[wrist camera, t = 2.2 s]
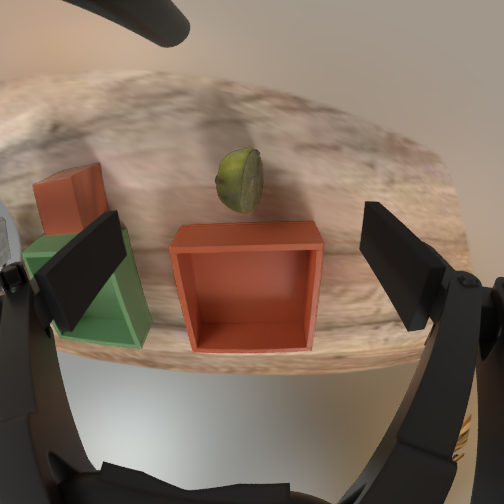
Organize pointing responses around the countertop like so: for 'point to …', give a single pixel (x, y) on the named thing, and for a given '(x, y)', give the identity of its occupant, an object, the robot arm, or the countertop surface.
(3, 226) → the coffee box
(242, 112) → the countertop surface
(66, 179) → the block
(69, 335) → the green bin
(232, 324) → the terracotta bin
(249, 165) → the lime
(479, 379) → the robot arm
